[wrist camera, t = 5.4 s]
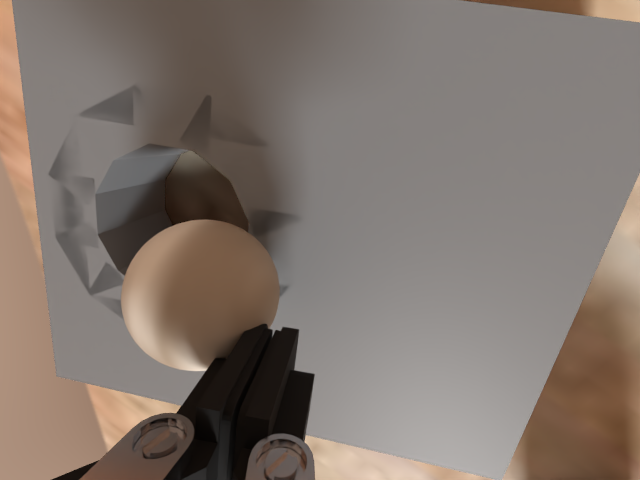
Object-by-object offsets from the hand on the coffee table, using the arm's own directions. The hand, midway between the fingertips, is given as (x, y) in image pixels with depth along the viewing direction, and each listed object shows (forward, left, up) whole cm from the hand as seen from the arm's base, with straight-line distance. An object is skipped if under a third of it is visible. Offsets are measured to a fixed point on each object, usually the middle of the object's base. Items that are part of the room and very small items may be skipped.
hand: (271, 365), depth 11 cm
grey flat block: (-3, 0, -8) cm, 9 cm away
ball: (-2, -3, -1) cm, 3 cm away
